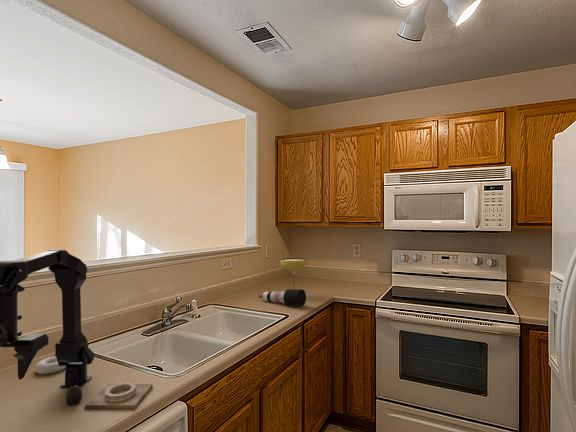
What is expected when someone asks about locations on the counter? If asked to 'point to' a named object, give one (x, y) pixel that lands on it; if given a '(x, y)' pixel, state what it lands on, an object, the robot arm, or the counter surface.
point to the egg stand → (119, 396)
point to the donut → (48, 366)
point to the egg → (73, 395)
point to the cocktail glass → (293, 265)
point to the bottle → (286, 297)
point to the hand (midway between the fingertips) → (2, 378)
